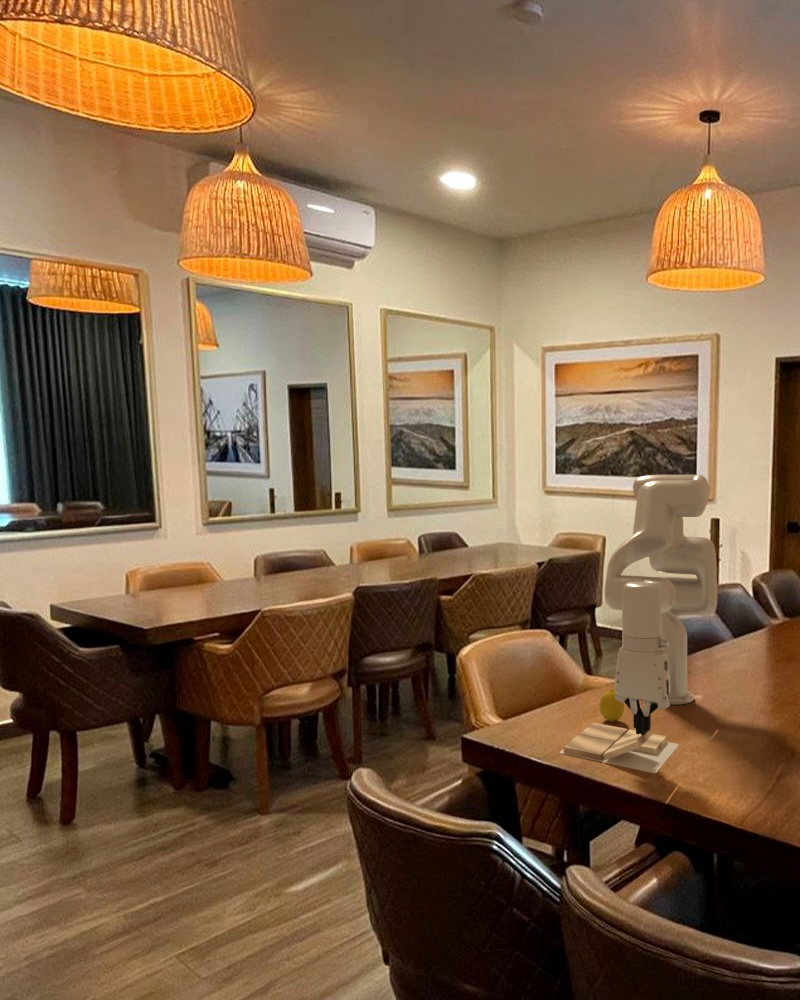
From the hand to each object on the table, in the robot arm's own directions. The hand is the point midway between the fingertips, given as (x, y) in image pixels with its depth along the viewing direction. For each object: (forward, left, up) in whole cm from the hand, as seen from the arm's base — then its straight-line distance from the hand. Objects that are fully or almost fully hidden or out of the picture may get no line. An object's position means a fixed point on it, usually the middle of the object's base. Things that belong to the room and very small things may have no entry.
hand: (642, 732), depth 149 cm
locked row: (-5, -11, -6) cm, 13 cm away
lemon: (-20, -13, -7) cm, 25 cm away
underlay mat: (-4, -6, -6) cm, 10 cm away
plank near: (0, -3, -4) cm, 4 cm away
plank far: (-9, -3, -6) cm, 11 cm away
